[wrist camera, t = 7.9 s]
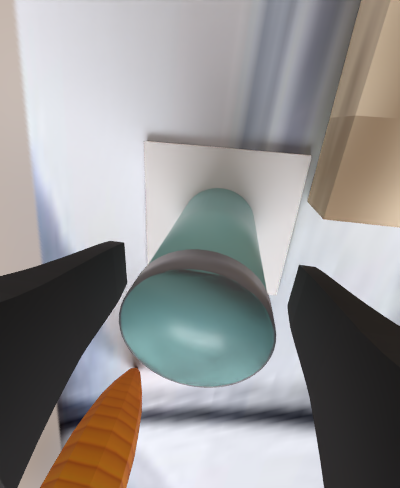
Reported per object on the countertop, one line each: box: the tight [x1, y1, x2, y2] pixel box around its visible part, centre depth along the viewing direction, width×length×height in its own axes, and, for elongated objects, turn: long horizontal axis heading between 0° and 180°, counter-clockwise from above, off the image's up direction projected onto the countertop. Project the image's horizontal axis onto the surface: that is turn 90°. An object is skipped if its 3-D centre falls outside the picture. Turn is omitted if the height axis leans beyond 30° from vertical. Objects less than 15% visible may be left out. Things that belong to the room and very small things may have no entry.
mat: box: [144, 141, 312, 295], centre depth 15 cm, size 9×9×1 cm
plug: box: [119, 188, 276, 388], centre depth 11 cm, size 4×4×9 cm
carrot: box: [40, 367, 142, 488], centre depth 16 cm, size 5×5×15 cm
